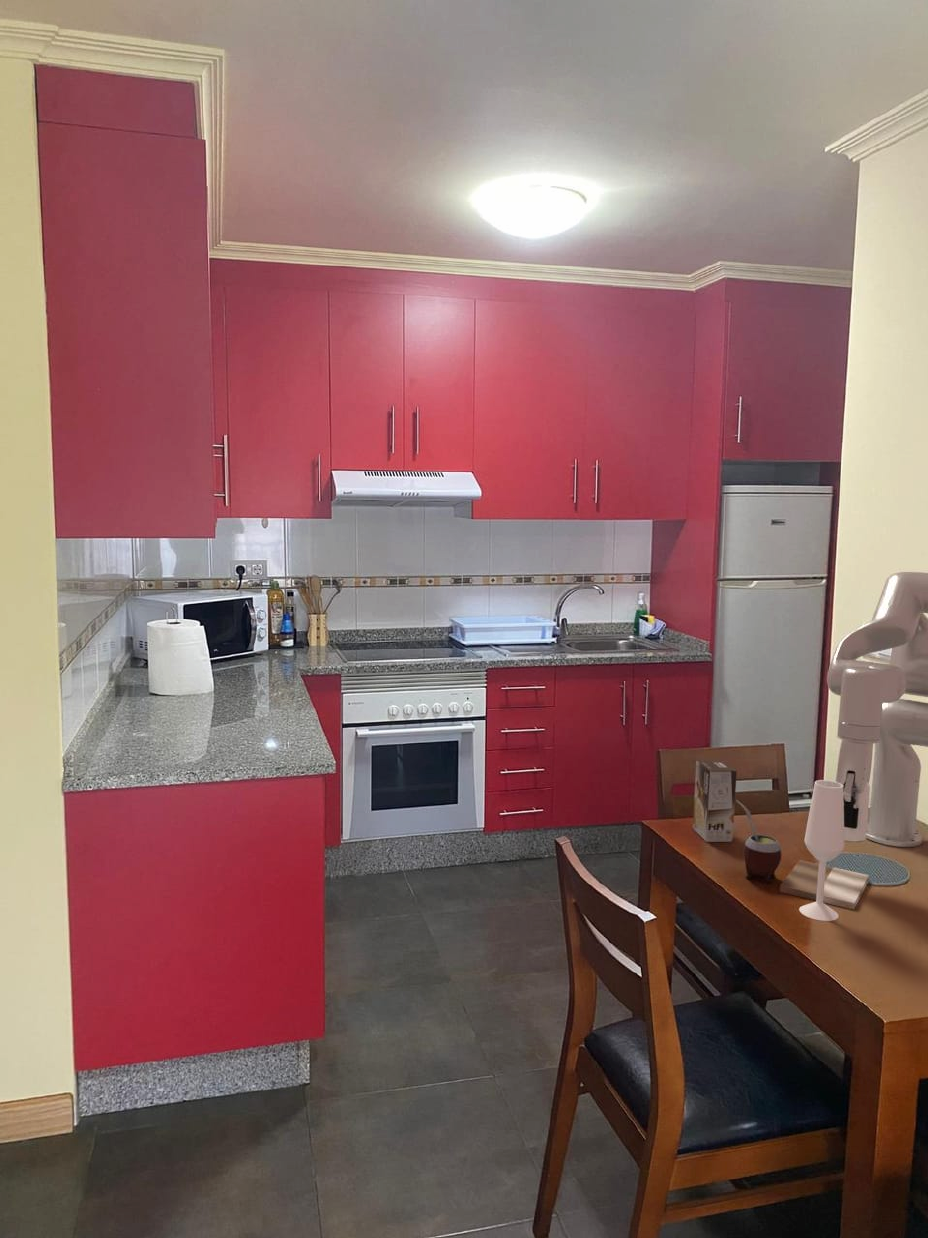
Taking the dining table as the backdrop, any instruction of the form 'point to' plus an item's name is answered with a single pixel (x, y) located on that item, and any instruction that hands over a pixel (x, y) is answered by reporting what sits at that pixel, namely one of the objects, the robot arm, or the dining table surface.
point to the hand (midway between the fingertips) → (851, 821)
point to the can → (859, 817)
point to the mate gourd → (761, 854)
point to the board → (838, 884)
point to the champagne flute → (824, 839)
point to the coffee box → (714, 800)
